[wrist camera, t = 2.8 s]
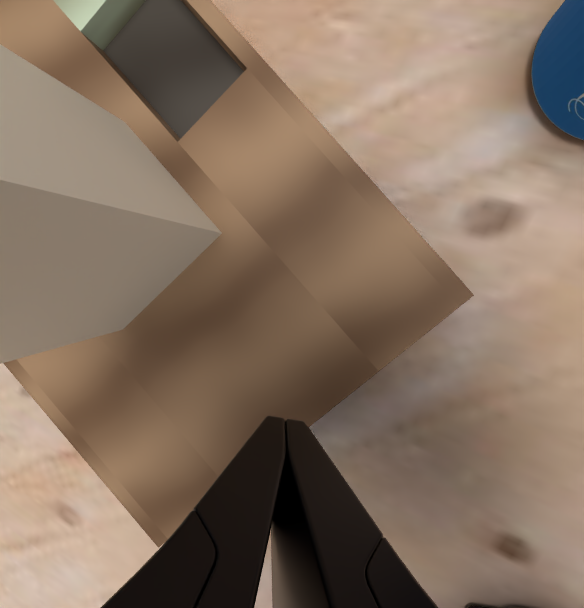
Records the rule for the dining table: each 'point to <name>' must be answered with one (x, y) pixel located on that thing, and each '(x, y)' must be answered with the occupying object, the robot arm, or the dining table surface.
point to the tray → (223, 256)
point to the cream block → (81, 217)
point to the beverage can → (562, 69)
